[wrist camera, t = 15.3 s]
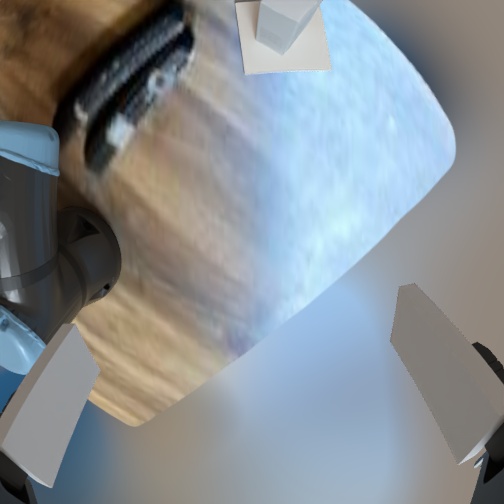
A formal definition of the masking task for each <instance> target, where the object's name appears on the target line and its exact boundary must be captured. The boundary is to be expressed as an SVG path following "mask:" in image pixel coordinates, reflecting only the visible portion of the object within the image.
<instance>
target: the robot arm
mask: <svg viewBox="0 0 504 504" xmlns="http://www.w3.org/2000/svg"><path fill="white" fill-rule="evenodd" d="M58 165H59V136H58V134H57V132H56V131H55V130H54V129H53V128H52V127H50V126H47V125H42V124H34V123H26V122H16V121H4V120H0V365H1V366H3V367H4V368H6V369H8V370H10V371H12V372H14V373H18V374H27V375H26V377H25V378H24V380H23V381H22V383H21V384H20V386H19V388H18V389H17V390H16V391H15V392H14V393H13V394H12V395H11V397H10V398H9V400H8V402H7V403H6V404H7V405H6V406H5V407H4V408H3V410H2V413H0V504H37V501H36V498H35V495H34V491H33V488H32V485H31V483H30V481H29V480H28V479H27V476H28V475H29V476H31V477H32V478H33V479H34V480H36V481H37V482H38V483H41V484H43V485H46V486H48V487H50V488H52V486H53V484H54V481H55V478H56V475H57V472H58V469H59V466H60V464H61V461H62V459H63V456H64V453H65V451H66V448H67V445H68V443H69V440H70V438H71V435H72V433H73V431H74V428H75V426H76V423H77V421H78V419H79V416H80V414H81V411H82V409H83V407H84V405H85V403H86V400H87V398H88V396H89V394H90V392H91V389H92V387H93V385H94V383H95V381H96V379H97V377H98V375H99V372H100V369H99V367H98V366H97V364H96V362H95V360H94V359H93V357H92V355H91V353H90V351H89V349H88V347H87V346H86V344H85V342H84V340H83V338H82V336H81V334H80V332H79V330H78V328H77V326H76V324H70V323H71V322H72V321H73V319H74V318H75V317H76V315H77V314H78V312H79V311H80V310H81V309H82V308H83V307H85V306H87V305H89V304H91V303H93V302H96V301H98V300H100V299H102V298H103V297H104V296H106V295H107V294H108V293H109V292H110V290H111V289H112V288H113V286H114V285H115V284H116V282H117V280H118V278H119V275H120V271H121V253H120V249H119V245H118V243H117V240H116V238H115V236H114V234H113V232H112V231H111V229H110V228H109V226H108V225H107V224H106V223H105V222H104V221H103V220H102V219H101V218H100V217H99V216H98V215H96V214H95V213H93V212H91V211H89V210H87V209H84V208H81V207H68V208H64V209H62V210H60V211H58V212H57V186H58V176H59V175H60V171H59V169H58ZM390 342H391V343H392V345H393V346H394V348H395V350H396V352H397V353H398V355H399V356H400V358H401V360H402V362H403V363H404V365H405V366H406V368H407V370H408V372H409V373H410V375H411V377H412V378H413V380H414V382H415V384H416V385H417V387H418V389H419V391H420V392H421V394H422V396H423V398H424V400H425V401H426V403H427V405H428V407H429V409H430V411H431V412H432V414H433V416H434V418H435V420H436V422H437V424H438V426H439V427H440V430H441V432H442V433H443V435H444V437H445V439H446V441H447V443H448V445H449V447H450V449H451V451H452V454H453V455H454V458H455V460H456V462H457V464H458V465H459V464H461V463H463V462H464V461H466V460H468V459H470V458H472V457H473V456H475V455H476V454H477V453H478V452H479V451H480V450H481V448H483V447H484V446H485V448H486V450H487V451H486V452H485V453H484V454H483V455H482V456H481V457H480V458H479V459H478V460H477V461H476V463H475V465H474V468H476V467H477V466H478V465H479V464H480V463H481V462H482V465H481V467H480V469H481V470H480V474H479V477H478V481H477V484H476V488H475V491H474V494H473V497H472V501H471V503H470V504H504V369H503V365H502V364H501V363H500V362H499V361H497V358H496V357H495V356H494V355H493V354H492V352H491V351H490V350H489V349H488V348H486V347H485V346H483V345H482V344H480V343H478V342H476V343H474V344H471V343H470V342H469V341H468V340H467V339H466V337H465V336H464V335H463V334H462V333H461V332H460V331H459V329H458V328H457V327H456V326H455V325H454V324H453V323H452V322H451V321H450V319H449V318H448V317H447V316H446V315H445V314H444V313H443V312H442V311H441V310H440V309H439V308H438V307H437V305H436V304H435V303H434V302H433V301H432V300H431V299H430V298H429V297H428V296H427V295H426V294H425V293H424V292H423V291H422V290H421V289H420V288H419V287H418V286H417V285H416V284H415V283H414V284H409V285H404V286H399V290H398V297H397V304H396V311H395V317H394V322H393V328H392V333H391V339H390Z"/></svg>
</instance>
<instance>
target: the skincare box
mask: <svg viewBox="0 0 504 504" xmlns="http://www.w3.org/2000/svg"><path fill="white" fill-rule="evenodd" d="M322 1H323V0H261V1H260V4H259V13H258V21H257V30H256V39H255V40H256V41H257V42H259V43H261V44H263V45H265V46H267V47H269V48H270V49H272V50H274V51H275V52H277V53H279V54H280V55H282V56H283V55H284V54H285V53H286V51H287V50H288V49H289V48H290V46H291V45H292V44H293V43H294V41H295V40H296V39H297V38H298V36H299V35H300V34H301V32H302V31H303V30H304V29H305V28H306V26H307V25H308V23H309V22H310V20H311V18H312V17H313V15H314V13H315V12H316V10H317V8H318V7H319V5H320V4H321V2H322Z"/></svg>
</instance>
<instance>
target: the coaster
mask: <svg viewBox="0 0 504 504" xmlns="http://www.w3.org/2000/svg"><path fill="white" fill-rule="evenodd" d="M259 4H260V1H252V2H240V3H235V7H236V14H237V21H238V28H239V36H240V43H241V50H242V58H243V65H244V73H245V75H252V74H263V73H277V72H301V71H331V70H332V69H331V63H330V57H329V51H328V45H327V39H326V34H325V29H324V23H323V19H322V14H321V9H320V5H319V7H318V8H317V10H316V12H315V13H314V15H313V17H312V18H311V20H310V22H309V23H308V25H307V26H306V28H305V29H304V30H303V31H302V32H301V34H300V35H299V36H298V38H297V39H296V40H295V41H294V43H293V44H292V45H291V46H290V48H289V49H288V50H287V51H286V53H285V54H284V55H283V56H282V55H280V54H279V53H277V52H275V51H274V50H272V49H270V48H269V47H267V46H265V45H263V44H261V43H259V42H257V41H256V40H255V39H256V30H257V21H258V13H259Z"/></svg>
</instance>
